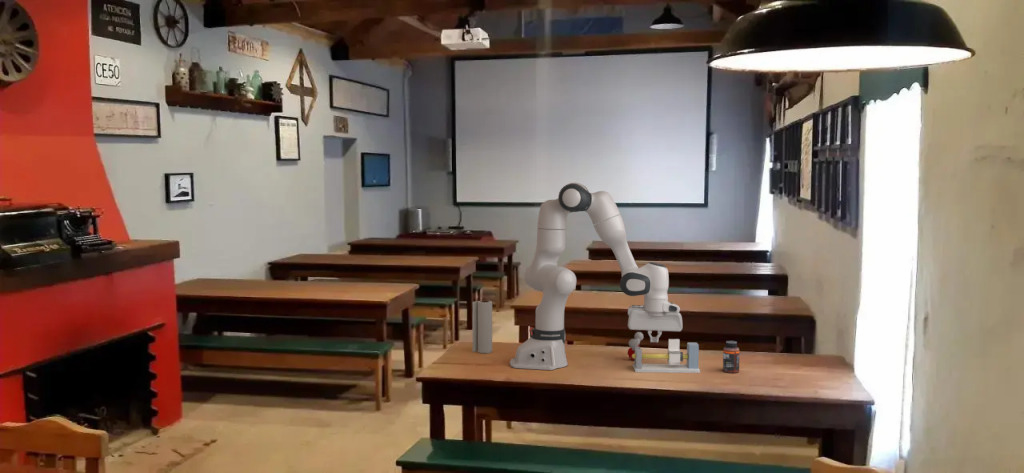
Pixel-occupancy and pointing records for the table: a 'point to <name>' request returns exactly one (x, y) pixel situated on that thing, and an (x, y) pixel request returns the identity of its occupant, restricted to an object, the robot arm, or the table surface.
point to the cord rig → (682, 368)
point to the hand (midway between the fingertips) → (654, 342)
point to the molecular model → (634, 344)
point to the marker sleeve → (674, 352)
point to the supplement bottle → (731, 357)
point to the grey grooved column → (482, 326)
